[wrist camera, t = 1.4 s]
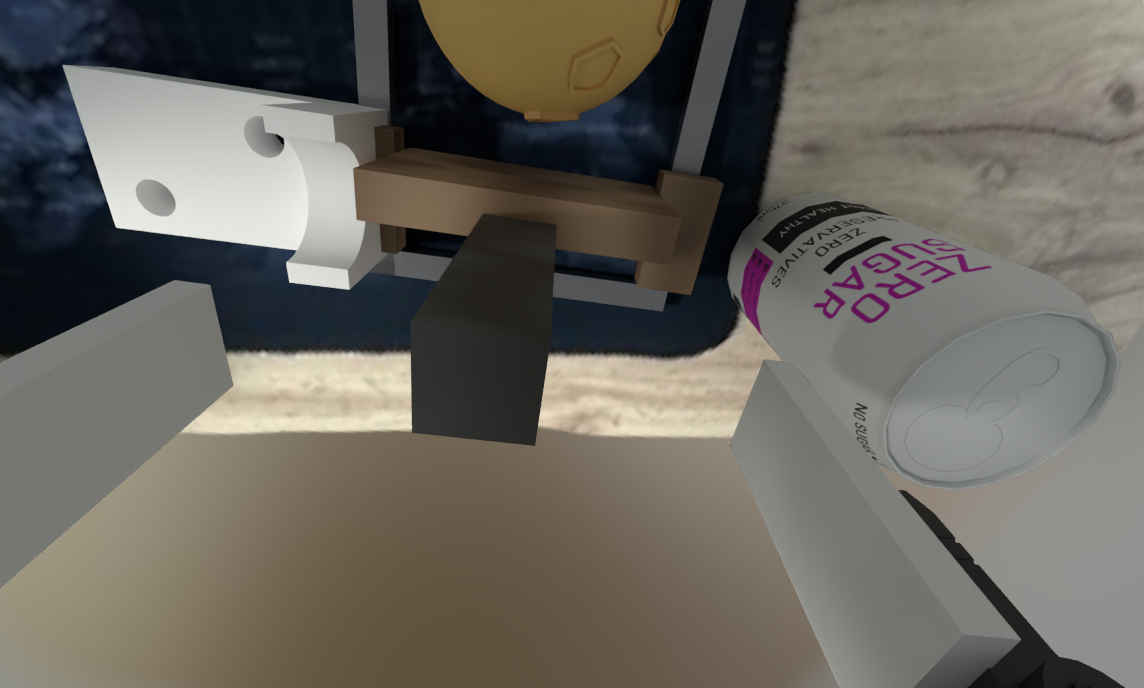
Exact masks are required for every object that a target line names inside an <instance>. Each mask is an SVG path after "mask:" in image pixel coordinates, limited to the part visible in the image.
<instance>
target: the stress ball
mask: <svg viewBox="0 0 1144 688" xmlns="http://www.w3.org/2000/svg"><path fill="white" fill-rule="evenodd" d="M419 3H420V6H421V9H422V12H423V15H424V17H425V19H426V21H427V24H428V26H429V28H430V30H431V32H432V34H433V36H434V38H435V40H436V41H437V43H438V45H439V46H440V48H441V49H442V51H443V53H444V54H445V56H446V57H447V58H448V59H449V61H450V62H451V63H452V65H453V66H454V67H455V69H456V70H457V71H458V72H459V73H460V74H461V75H462V76H463V77H464V78H465V79H466V80H467V81H468V82H469V83H470V84H471V85H472V86H473V87H474V88H476V89H477V90H478V91H480V92H481V93H482V94H483V95H485V96H486V97H488V98H489V99H491V100H493V101H494V102H496V103H498V104H500V105H502V106H504V107H507V108H509V109H512V110H514V111H517V112H520V113H523V114H524V116H525V119H526V120H527V121H528V122H556V121H571V120H574V121H579V119H580V113H582V112H585V111H588V110H591V109H594V108H596V107H598V106H600V105H602V104H604V103H606V102H608V101H609V100H611V99H612V98H613V97H615V96H616V95H618V94H619V93H620V92H622V91H623V90H624V89H625V88H626V87H627V86H628V85H630V84H631V83H632V82H633V81H634V80H635V79H636V78H637V77H638V76H639V75H640V73H641V72H642V71H643V70H644V68H645V67H646V66H647V65H648V64H649V63H650V62H651V61H652V59H653V58H654V57H655V56H656V54H657V53H658V52H659V50H660V47H661V45H662V42H663V40H664V37H665V35H666V33H667V31H668V30H669V29H670V27H671V26H672V24H673V22H674V19H675V15H676V12H677V9H678V6H679V3H680V0H419Z"/></svg>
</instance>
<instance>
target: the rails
mask: <svg viewBox="0 0 1144 688" xmlns="http://www.w3.org/2000/svg"><path fill="white" fill-rule="evenodd" d="M745 3H746V0H708V2H707V6H706V10H705V14H704V18H703V23H702V27H701V31H700V35H699V40H698V44H697V48H696V52H695V56H694V61H693V65H692V69H691V73H690V78H689V82H688V86H687V90H686V94H685V99H684V103H683V107H682V111H681V115H680V120H679V124H678V128H677V132H676V137H675V141H674V145H673V149H672V153H671V158H670V162H669V166H668V170H667V171H673V172H679V173H685V174H691V175H697V176H699V174H700V171H701V167H702V163H703V160H704V156H705V152H706V148H707V145H708V141H709V137H710V134H711V130H712V126H713V122H714V119H715V115H716V111H717V108H718V104H719V100H720V96H721V93H722V89H723V85H724V81H725V78H726V74H727V70H728V67H729V63H730V59H731V55H732V52H733V48H734V44H735V41H736V37H737V33H738V29H739V26H740V22H741V18H742V15H743V11H744V7H745ZM353 16H354V33H355V50H356V67H357V84H358V101H359V106H366V107H373V108H379V109H386V110H387V120H388V125H389V126H395V127H397V113H396V72H395V32H394V0H353ZM455 255H456V253H451V252H444V251H437V250H429V249H422V248H415V247H408V246H405V247H404V248H403V249H402V250H401V251H400V252H399V253H398V254H392V253H388V254H387V255H386V256H385V257H384V258H383V259H382V260H381V261H380V262H379V263H378V264H377V265H375V266H374V267H373V268H372V269H371V270H370V271H369V272H374V273H381V274H389V275H396V276H403V277H411V278H418V279H426V280H433V281H439V279H440V278H441V276H442V275H443V273H444V272H445V270H446V268H447V267H448V265H449V264H450V262H451V261H452V259H453V258H454V256H455ZM667 293H668V292H665V291H658V290H651V289H644V288H638V286H637V283H636V281H635V278H629V277H622V276H614V275H607V274H600V273H593V272H586V271H579V270H572V269H565V268H558V267H554V285H553V297H559V298H566V299H574V300H581V301H589V302H596V303H603V304H611V305H618V306H626V307H633V308H640V309H648V310H655V311H663V308H664V305H665V301H666V297H667Z"/></svg>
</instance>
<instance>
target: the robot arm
mask: <svg viewBox="0 0 1144 688" xmlns="http://www.w3.org/2000/svg"><path fill="white" fill-rule="evenodd" d="M232 386H233V382H232V378H231V373H230V369H229V365H228V360H227V356H226V352H225V348H224V343H223V339H222V335H221V330H220V326H219V322H218V317H217V313H216V309H215V305H214V300H213V296H212V292H211V287H210V285H206V284H199V283H191V282H184V281H176V280H174V281H172V282H170V283H167V284H165V285H163V286H161V287H159V288H157V289H155V290H153V291H151V292H148V293H146V294H144V295H142V296H140V297H138V298H136V299H134V300H132V301H129V302H127V303H125V304H123V305H121V306H119V307H117V308H115V309H113V310H110V311H108V312H106V313H104V314H102V315H100V316H98V317H96V318H94V319H91V320H89V321H87V322H85V323H83V324H81V325H79V326H77V327H74V328H72V329H70V330H68V331H66V332H64V333H62V334H60V335H58V336H55V337H53V338H51V339H49V340H47V341H45V342H43V343H41V344H39V345H36V346H34V347H32V348H30V349H28V350H26V351H24V352H22V353H20V354H17V355H15V356H13V357H11V358H9V359H7V360H5V361H3V362H1V363H0V588H1V587H2V586H3V585H4V584H5V583H7V582H8V581H9V580H10V579H11V578H12V577H13V576H15V575H16V574H17V573H18V572H19V571H20V570H22V569H23V568H24V567H25V566H26V565H27V564H28V563H30V561H32V560H33V559H34V558H35V557H37V556H38V555H39V554H40V553H41V552H42V551H43V550H45V549H46V548H47V547H48V546H49V545H50V544H51V543H52V542H54V541H55V540H56V539H57V538H58V537H60V536H61V535H62V534H63V533H64V532H65V531H66V530H68V529H69V528H70V527H71V526H72V525H73V524H75V523H76V522H77V521H78V520H79V519H80V518H81V517H83V516H84V515H85V514H86V513H87V512H88V511H89V510H91V509H92V508H93V507H94V506H95V505H96V504H98V503H99V502H100V501H101V500H102V499H103V498H104V497H106V496H107V495H108V494H109V493H110V492H111V491H113V490H114V489H115V488H116V487H117V486H118V485H119V484H121V483H122V482H123V481H124V480H125V479H126V478H127V477H129V476H130V475H131V474H132V473H133V472H134V471H135V470H137V469H138V468H139V467H140V466H141V465H142V464H143V463H145V462H146V461H147V460H148V459H149V458H151V457H152V456H153V455H154V454H155V453H156V452H157V451H159V450H160V449H161V448H162V447H163V446H164V445H165V444H167V443H168V442H169V441H170V440H171V439H172V438H173V437H175V436H176V435H177V434H178V433H179V432H180V431H182V430H183V429H184V428H185V427H186V426H187V425H189V424H190V423H191V422H192V421H193V420H194V419H195V418H197V417H198V416H199V415H200V414H201V413H202V412H203V411H205V410H206V409H207V408H208V407H209V406H210V405H212V404H213V403H214V402H215V401H216V400H217V399H218V398H220V397H221V396H222V395H223V394H224V393H225V392H227V391H228V390H229V389H230V388H231V387H232ZM730 447H731V449H732V451H733V453H734V456H735V458H736V460H737V462H738V464H739V466H740V469H741V471H742V473H743V476H744V478H745V480H746V482H747V484H748V487H749V489H750V491H751V493H752V495H753V498H754V500H755V502H756V504H757V506H758V509H759V511H760V513H761V515H762V518H763V520H764V522H765V524H766V526H767V528H768V531H769V533H770V535H771V538H772V540H773V541H774V544H775V546H776V548H777V551H778V553H779V555H780V557H781V560H782V562H783V564H784V566H785V569H786V571H787V573H788V575H789V577H790V580H791V582H792V584H793V586H794V588H795V590H796V593H797V595H798V597H799V599H800V601H801V604H802V606H803V608H804V611H805V613H806V615H807V617H808V619H809V622H810V623H811V626H812V628H813V630H814V632H815V635H816V637H817V639H818V642H819V644H820V646H821V648H822V650H823V653H824V655H825V657H826V659H827V661H828V664H829V666H830V668H831V670H832V672H833V675H834V677H835V679H836V681H837V684H838V686H839V688H1125V687H1123V686H1121V685H1120V684H1119V683H1117V682H1116V681H1114V680H1113V679H1111V678H1110V677H1108V676H1107V675H1105V674H1104V673H1102V672H1100V671H1098V670H1096V669H1094V668H1092V667H1090V666H1088V665H1086V664H1083V663H1081V662H1079V661H1076V660H1072V659H1067V658H1061V657H1058V655H1057V654H1055V652H1054V651H1053V650H1052V649H1051V648H1050V647H1049V646H1048V645H1047V644H1046V642H1045V641H1044V640H1043V639H1042V638H1041V636H1040V635H1039V634H1038V633H1037V632H1036V631H1035V630H1034V628H1033V627H1032V626H1031V625H1030V624H1029V623H1028V621H1027V620H1026V619H1025V618H1024V617H1023V616H1022V614H1021V613H1020V612H1019V611H1018V610H1017V609H1016V607H1015V606H1014V605H1013V604H1012V603H1011V602H1010V601H1009V600H1008V598H1007V597H1006V596H1005V595H1004V594H1003V593H1002V591H1001V590H1000V589H999V588H998V587H997V586H996V584H995V583H994V582H993V581H992V580H991V579H990V578H989V576H988V575H987V574H986V573H985V572H984V571H983V570H982V569H981V567H980V566H979V565H975V564H974V562H973V561H974V559H973V558H972V557H971V556H970V554H969V553H968V552H967V551H966V550H965V549H964V547H963V546H962V545H961V544H960V543H956V542H955V537H954V536H953V535H952V534H951V532H950V531H949V530H948V529H947V528H946V527H945V525H944V524H943V523H942V522H941V521H940V520H939V518H938V517H937V516H936V515H935V514H934V513H933V512H932V511H931V510H929V509H928V508H927V507H926V506H924V505H923V504H922V503H920V502H919V501H918V500H917V499H915V498H914V497H913V496H911V495H910V494H909V493H908V492H907V491H904V490H897V488H896V487H895V486H894V485H893V484H892V482H891V481H890V480H889V479H888V477H887V476H886V475H885V474H884V473H883V472H882V470H881V469H880V468H879V466H878V465H877V464H876V463H875V462H874V460H873V459H872V458H871V457H870V456H869V454H868V453H867V452H866V451H865V449H864V448H863V447H862V446H861V445H860V443H859V442H858V441H857V440H856V439H855V437H854V436H853V435H852V434H851V432H850V431H849V430H848V429H847V428H846V426H845V425H844V424H843V423H842V422H841V420H840V419H839V418H838V417H837V415H836V414H835V413H834V412H833V411H832V409H831V408H830V407H829V406H828V405H827V403H826V402H825V401H824V400H823V398H822V397H821V396H820V395H819V394H818V392H817V391H816V390H815V389H814V388H813V386H812V385H811V384H810V383H809V382H808V380H807V379H806V378H805V377H804V375H803V374H802V373H801V372H800V371H799V369H798V368H797V367H796V366H795V365H794V363H786V362H779V361H771V360H764V361H763V364H762V366H761V369H760V371H759V374H758V376H757V379H756V381H755V383H754V386H753V388H752V391H751V393H750V396H749V398H748V401H747V403H746V406H745V408H744V411H743V413H742V416H741V418H740V420H739V423H738V425H737V428H736V430H735V433H734V435H733V438H732V440H731V443H730Z"/></svg>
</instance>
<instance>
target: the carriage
mask: <svg viewBox="0 0 1144 688" xmlns="http://www.w3.org/2000/svg"><path fill="white" fill-rule="evenodd" d="M374 134H375V152H376V160H374V161H371V162H369V163H366V164H363V165H360V166H358V167H355V168H353V175H354V190H355V205H356V219H357V220H359V221H366V222H373V223H380V238H381V252H385V253H392V254H398V253H399V252H400V251H401V250H402V249H403V248H404V247H405V246H406V227H407V228H414V229H421V230H428V231H435V232H442V233H449V234H456V235H463V236H468V237H467V238H466V240H465V241H464V243H463V244H462V246H461V247H460V249H459V250H458V252H457V253H456V255H455V256H454V258H453V259H452V261H451V262H450V264H449V265H448V267H447V268H446V270H445V272H444V273H443V275H442V276H441V278H440V279H439V281H438V282H437V284H436V285H435V287H434V288H433V290H432V291H431V293H430V294H429V296H428V297H427V299H426V300H425V302H424V303H423V305H422V306H421V308H420V309H419V311H418V312H417V314H416V315H415V317H414V318H413V320H412V321H411V389H412V433H420V434H430V435H439V436H449V437H458V438H467V439H476V440H486V441H495V442H504V443H515V444H524V445H533V446H535V442H536V435H537V428H538V422H539V415H540V408H541V401H542V395H543V388H544V381H545V374H546V368H547V361H548V354H549V347H550V340H551V322H552V303H553V285H554V266H555V249H560V250H567V251H574V252H581V253H588V254H595V255H602V256H609V257H616V258H623V259H630V260H637V261H638V263H637V268H636V272H635V277H634V278H635V281H636V283H637V286H638V288H644V289H651V290H658V291H665V292H673V293H680V294H687V295H691V293H692V290H693V286H694V283H695V279H696V276H697V273H698V269H699V266H700V262H701V259H702V256H703V252H704V249H705V245H706V242H707V239H708V235H709V232H710V229H711V225H712V222H713V218H714V215H715V212H716V208H717V205H718V201H719V198H720V195H721V191H722V188H723V185H724V183H722V182H720V181H718V180H717V179H715V178H710V177H704V176H697V175H691V174H685V173H679V172H673V171H667V170H660V169H659V171H658V176H657V180H656V185H655V189H654V188H653V187H652V186H650V185H644V184H638V183H631V182H625V181H619V180H612V179H606V178H600V177H594V176H587V175H581V174H575V173H568V172H562V171H556V170H549V169H543V168H537V167H530V166H524V165H518V164H512V163H505V162H499V161H493V160H486V159H480V158H474V157H467V156H461V155H455V154H448V153H442V152H436V151H430V150H423V149H417V148H411V147H410V148H407V149H404V128H401V127H395V126H389V125H383V126H378V127H374Z"/></svg>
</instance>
